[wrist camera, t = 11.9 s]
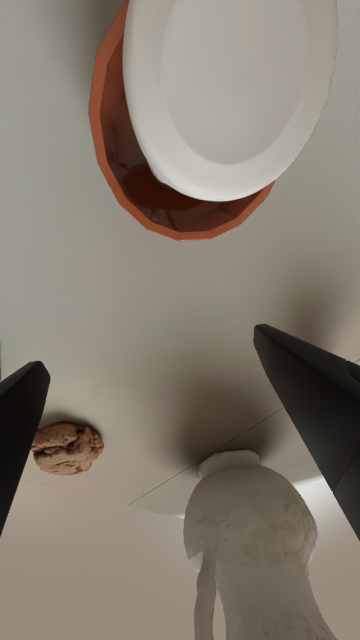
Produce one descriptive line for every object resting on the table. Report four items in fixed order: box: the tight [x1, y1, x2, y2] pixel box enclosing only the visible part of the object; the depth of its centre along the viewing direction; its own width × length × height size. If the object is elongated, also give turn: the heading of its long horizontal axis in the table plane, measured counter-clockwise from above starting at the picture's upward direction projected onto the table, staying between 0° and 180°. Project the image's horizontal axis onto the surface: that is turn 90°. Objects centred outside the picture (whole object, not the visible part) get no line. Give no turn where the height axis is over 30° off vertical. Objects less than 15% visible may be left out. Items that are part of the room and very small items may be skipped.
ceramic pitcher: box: [183, 449, 337, 640], centre depth 31 cm, size 22×20×25 cm
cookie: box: [31, 423, 104, 475], centre depth 32 cm, size 10×11×3 cm
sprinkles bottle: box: [123, 0, 338, 201], centre depth 10 cm, size 5×5×13 cm
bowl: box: [88, 0, 276, 241], centre depth 14 cm, size 10×10×6 cm
